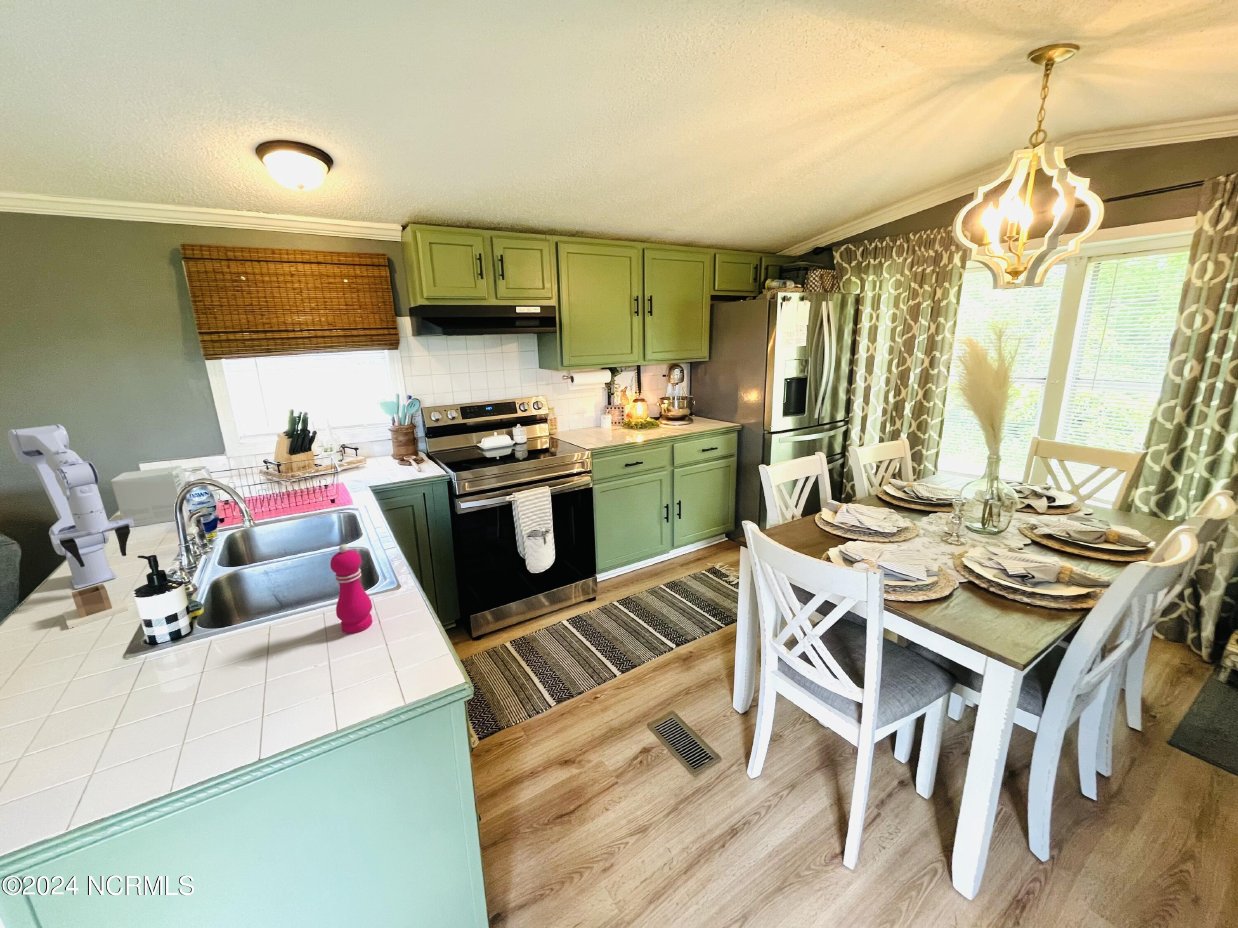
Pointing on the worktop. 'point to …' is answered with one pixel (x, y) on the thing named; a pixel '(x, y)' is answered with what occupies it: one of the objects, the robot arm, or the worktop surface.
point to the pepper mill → (351, 592)
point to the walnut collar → (91, 600)
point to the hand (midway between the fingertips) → (103, 560)
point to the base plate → (75, 620)
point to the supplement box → (148, 494)
